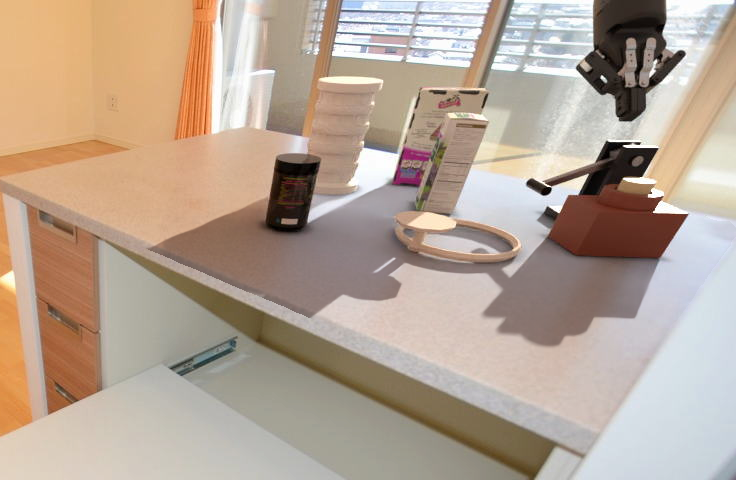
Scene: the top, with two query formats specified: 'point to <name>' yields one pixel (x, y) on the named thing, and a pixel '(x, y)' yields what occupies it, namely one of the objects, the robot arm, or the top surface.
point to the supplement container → (292, 191)
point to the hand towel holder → (440, 223)
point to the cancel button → (636, 185)
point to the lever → (571, 174)
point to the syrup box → (450, 162)
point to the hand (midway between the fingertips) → (630, 117)
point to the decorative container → (341, 130)
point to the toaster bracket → (614, 168)
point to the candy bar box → (432, 127)
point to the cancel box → (617, 224)
